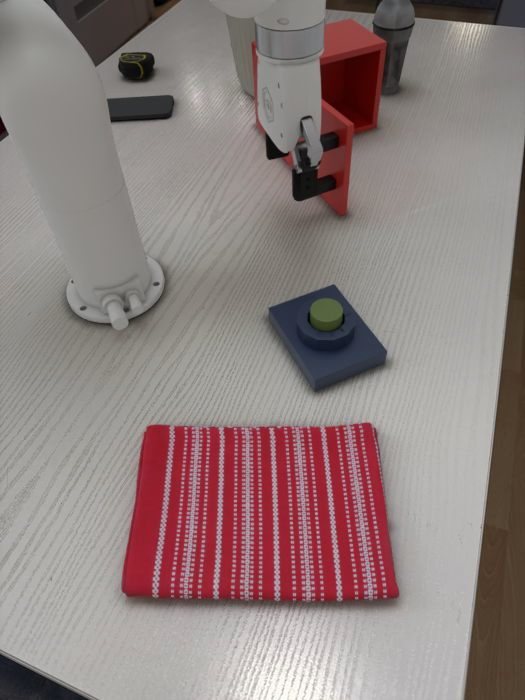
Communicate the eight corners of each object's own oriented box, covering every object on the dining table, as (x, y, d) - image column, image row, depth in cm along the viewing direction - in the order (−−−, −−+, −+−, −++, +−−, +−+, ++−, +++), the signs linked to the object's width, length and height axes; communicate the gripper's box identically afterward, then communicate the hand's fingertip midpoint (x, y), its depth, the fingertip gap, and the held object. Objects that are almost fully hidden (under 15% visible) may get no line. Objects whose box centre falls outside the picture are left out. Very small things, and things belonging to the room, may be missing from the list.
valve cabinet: (376, 128, 94) (387, 41, 83) (282, 155, 90) (281, 68, 79) (344, 101, 100) (350, 18, 90) (256, 126, 96) (251, 41, 86)
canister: (340, 90, 103) (349, -42, 87) (262, 121, 97) (255, -15, 81) (285, 59, 113) (283, -65, 97) (210, 85, 107) (195, -42, 91)
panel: (385, 363, 61) (389, 340, 58) (314, 392, 59) (315, 370, 56) (333, 296, 69) (335, 272, 65) (268, 320, 67) (267, 296, 63)
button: (347, 325, 61) (349, 314, 59) (319, 336, 60) (319, 325, 58) (332, 304, 63) (332, 294, 61) (304, 315, 62) (304, 304, 61)
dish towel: (149, 429, 57) (144, 416, 55) (375, 428, 56) (378, 414, 54) (119, 602, 46) (111, 593, 44) (398, 605, 45) (403, 596, 43)
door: (302, 230, 77) (303, 140, 66) (247, 169, 88) (241, 83, 77) (346, 214, 79) (354, 123, 68) (287, 156, 89) (286, 70, 79)
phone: (96, 99, 104) (173, 94, 103) (97, 103, 105) (174, 98, 104) (88, 118, 99) (169, 113, 99) (90, 122, 100) (170, 118, 99)
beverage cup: (357, 91, 103) (369, -34, 87) (380, 77, 106) (394, -46, 91) (390, 102, 100) (407, -25, 84) (412, 87, 103) (433, -38, 87)
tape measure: (157, 67, 114) (153, 48, 111) (151, 82, 109) (147, 63, 106) (125, 68, 114) (120, 49, 111) (118, 83, 110) (113, 64, 107)
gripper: (233, 15, 63) (243, 149, 77) (285, 75, 53) (287, 219, 66) (292, 4, 65) (293, 138, 78) (355, 61, 54) (344, 205, 67)
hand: (290, 175), depth 72 cm, fingers open, 9 cm apart
